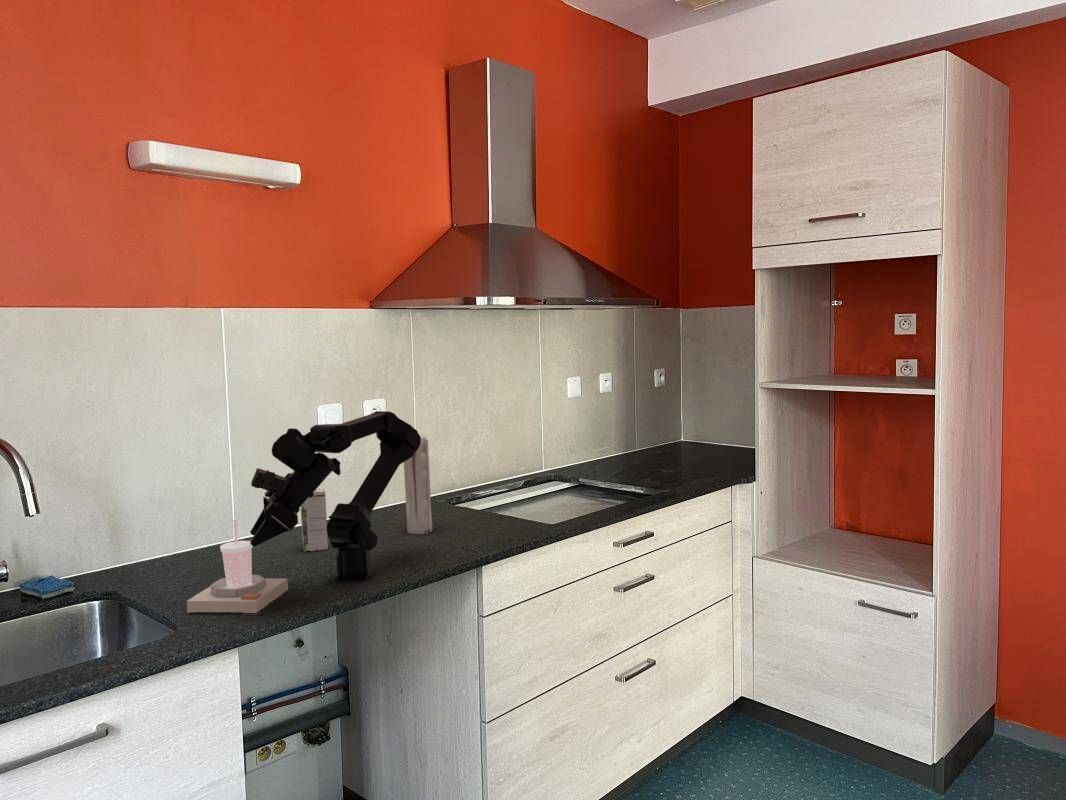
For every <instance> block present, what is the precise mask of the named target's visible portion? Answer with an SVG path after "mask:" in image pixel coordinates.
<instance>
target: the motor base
mask: <svg viewBox="0 0 1066 800" xmlns="http://www.w3.org/2000/svg"><path fill="white" fill-rule="evenodd" d="M288 585H289V584H288V578H270V577H268V578H265V577H263V576H261V575H260V574H252V585H250V586H245V587H241V588H227V583H226V577H223V578H218V580H217V581H215V582H213V583H211V584H210V586H208V587H207V588H205V589H204V590H202V591H200V592H199V593H197V594H196V595H194V596H192V597H191V598H189V599H188V600H186V609H187V612H186V613H187V614H188V613H191V612H193V613H194V612H243V613H257V612H258V611H260V610H261V609H263V608H264V607H265V606H267V605H268V604H269V603H270V602H272V601H273V600H275V599H276V598H278V597H279V596H280V595H281V596H283V595H284V594H285V593H286V592H285V591H287V590H288V591H289V586H288ZM288 591H287V592H288ZM284 592H285V593H284ZM283 593H284V594H283ZM282 594H283V595H282ZM281 596H280V597H281ZM280 597H279V598H280ZM279 598H278V599H279ZM276 600H277V599H276ZM276 600H275V601H276ZM272 603H273V602H272ZM268 606H269V605H268ZM268 606H267V607H268ZM263 610H264V609H263Z"/></svg>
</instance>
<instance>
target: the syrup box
mask: <svg viewBox="0 0 1066 800" xmlns="http://www.w3.org/2000/svg"><path fill="white" fill-rule="evenodd" d="M313 493H314V495H313V496H312V497H311V498H310V497H309V498H308V499H307V500H306V501H305V502H304V503H303V504H302V506H301V507H300V513H301V514H300V516H301V517H300V519H301V520H300V521H301V537H302V541H301V542H302V549H303V551H304V552H305V553H307V552H306V551H311V552H317V551H316V550H318V551H324V550H325V551H326V550H329V543H328V541H329V537H328V534H327V524H328V519H327V499H326V498H327V497H326V491H325V489H324V488H323V487H318V488H317V489H316V490H315V491H314V492H313Z"/></svg>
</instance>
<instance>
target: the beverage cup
mask: <svg viewBox="0 0 1066 800" xmlns="http://www.w3.org/2000/svg"><path fill="white" fill-rule="evenodd" d="M232 521H233V532H234V535H233V537H234V541H230V542H227V543H223V544H221V545H220V546H219V549H220V553H221V554H222V561H223V569H224V574H225V575H224V576H225V578H226V583H227V588H241V587H245V586H250V585H252V575H253V572H252V570H253V569H252V567H253V565H252V563H253V560H252V554H253V553H252V548H254V546H252V545H251V544H250V542H251V541H252V540H251V541H250V540H238V531H237V519H233V520H232Z"/></svg>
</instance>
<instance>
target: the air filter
mask: <svg viewBox="0 0 1066 800" xmlns="http://www.w3.org/2000/svg"><path fill="white" fill-rule="evenodd" d="M420 437H421V443H420V446H419V448H418V450H417V451H416V452H415V454H414V455H413V456H412V457H411V458H410V459H408V460H406V461H405V462H403V469H404V470H403V472H404V473H403V474H404V492H405V495H404V496H405V510H406V529H407V533H408V534H409V533H410V534H409V535H426V534H429V532H430V533H431V532H432V531H433V521H432V519H433V518H432V517H433V516H432V501H431V499H432V498H431V480H430V477H431V476H430V457H429V440H428V439H427V438H426V436H424V435H420ZM425 533H426V534H425Z"/></svg>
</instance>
